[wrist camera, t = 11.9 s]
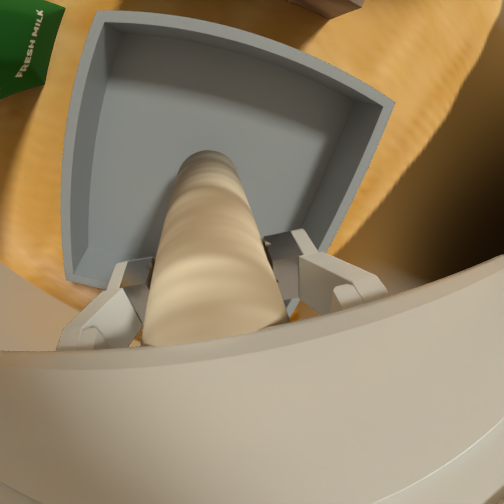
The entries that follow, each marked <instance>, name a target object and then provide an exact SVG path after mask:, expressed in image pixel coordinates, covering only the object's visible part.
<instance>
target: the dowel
mask: <svg viewBox="0 0 504 504" xmlns="http://www.w3.org/2000/svg"><path fill="white" fill-rule="evenodd" d="M289 322H290V319H289V316H288V313H287V310H286V307H285V304H284V302H283V299H282V296H281V293H280V290H279V287H278V284H277V282H276V279H275V276H274V273H273V270H272V267H271V264H270V262H269V259H268V256H267V253H266V250H265V248H264V245H263V242H262V239H261V236H260V234H259V231H258V228H257V225H256V222H255V220H254V217H253V214H252V211H251V209H250V206H249V203H248V200H247V198H246V195H245V192H244V189H243V187H242V184H241V181H240V178H239V176H238V173H237V170H236V168H235V166H234V164H233V162H232V161H231V160H230V159H229V158H228V157H227V156H226V155H224V154H222V153H220V152H217V151H212V150H204V151H199V152H196V153H194V154H192V155H190V156H189V157H188V158H187V159H186V160H185V161H184V162H183V163H182V165H181V166H180V168H179V171H178V174H177V177H176V181H175V184H174V188H173V191H172V195H171V199H170V202H169V206H168V210H167V213H166V217H165V221H164V225H163V229H162V234H161V238H160V242H159V246H158V251H157V255H156V260H155V265H154V270H153V274H152V280H151V285H150V290H149V296H148V301H147V307H146V313H145V319H144V326H143V333H142V340H141V346H149V345H154V346H156V347H159V346H167V345H175V344H183V343H191V342H198V341H204V340H211V339H217V338H223V337H229V336H235V335H241V334H246V333H251V332H256V331H257V330H259V329H261V328H265V327H270V326H275V325H280V324H285V323H289Z"/></svg>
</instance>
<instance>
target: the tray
mask: <svg viewBox="0 0 504 504" xmlns="http://www.w3.org/2000/svg"><path fill="white" fill-rule="evenodd" d="M394 105H395V102H394V101H393V100H391V99H390V98H388V97H387V96H385V95H384V94H382V93H381V92H379V91H377V90H376V89H374V88H373V87H371V86H369V85H368V84H366V83H364V82H362V81H361V80H359V79H357V78H355V77H354V76H352V75H350V74H348V73H346V72H344V71H343V70H341V69H339V68H337V67H335V66H333V65H331V64H329V63H327V62H325V61H323V60H320V59H318V58H316V57H314V56H312V55H309V54H307V53H305V52H302V51H300V50H298V49H295V48H293V47H290V46H288V45H285V44H283V43H280V42H277V41H274V40H272V39H269V38H266V37H263V36H260V35H257V34H254V33H251V32H247V31H244V30H240V29H237V28H233V27H229V26H226V25H222V24H217V23H213V22H209V21H204V20H199V19H194V18H188V17H182V16H176V15H168V14H160V13H150V12H138V11H97V12H96V15H95V17H94V20H93V23H92V25H91V28H90V31H89V33H88V36H87V39H86V42H85V45H84V49H83V52H82V55H81V59H80V62H79V66H78V70H77V73H76V77H75V82H74V86H73V91H72V95H71V100H70V106H69V111H68V117H67V124H66V131H65V139H64V148H63V159H62V174H61V233H62V248H63V260H64V269H65V277H66V280H67V281H71V282H75V283H79V284H84V285H88V286H92V287H97V288H102V289H106V290H107V287H108V284H109V281H110V278H111V276H112V273H113V270H114V268H115V265H116V264H117V263H119V262H124V261H130V260H135V259H141V258H146V257H152V256H154V257H155V258H156V255H157V251H158V246H159V242H160V238H161V234H162V229H163V225H164V221H165V217H166V213H167V210H168V206H169V202H170V199H171V195H172V191H173V188H174V184H175V181H176V177H177V174H178V171H179V168H180V166H181V165H182V163H183V162H184V161H185V160H186V159H187V158H188V157H189V156H190V155H192V154H194V153H196V152H199V151H204V150H212V151H217V152H220V153H222V154H224V155H226V156H227V157H228V158H229V159H230V160H231V161H232V162H233V164H234V166H235V168H236V170H237V173H238V176H239V178H240V181H241V184H242V187H243V189H244V192H245V195H246V198H247V200H248V203H249V206H250V209H251V211H252V214H253V217H254V220H255V222H256V225H257V228H258V231H259V234H260V236H261V239H262V237H263V236H268V235H273V234H278V233H283V232H288V231H293V230H297V229H304V230H305V232H306V233H307V235H308V236H309V238H310V240H311V241H312V243H313V244H314V246H315V247H316V249H317V251H318V252H324V253H326V252H327V250H328V248H329V246H330V245H331V243H332V241H333V239H334V237H335V235H336V233H337V231H338V229H339V227H340V225H341V223H342V221H343V219H344V217H345V215H346V213H347V211H348V209H349V207H350V205H351V203H352V201H353V199H354V197H355V195H356V193H357V191H358V188H359V186H360V184H361V182H362V180H363V178H364V176H365V173H366V171H367V169H368V167H369V165H370V162H371V160H372V158H373V156H374V153H375V151H376V149H377V146H378V144H379V142H380V139H381V137H382V135H383V132H384V130H385V127H386V125H387V123H388V120H389V118H390V115H391V113H392V110H393V107H394ZM262 242H263V239H262ZM299 301H300V299H299V298H293V299H288V300H283V302H284V304H285V307H286V310H287V313H288V316H289V317H290V316H291V314H292V313H293V311H294V309H295V308H296V306H297V304H298V302H299Z"/></svg>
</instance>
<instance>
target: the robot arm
mask: <svg viewBox="0 0 504 504" xmlns="http://www.w3.org/2000/svg"><path fill="white" fill-rule="evenodd" d="M262 239H263V245H264V248H265V250H266V253H267V256H268V259H269V262H270V264H271V267H272V270H273V273H274V276H275V279H276V282H277V284H278V287H279V290H280V293H281V296H282V299H283V300H288V299H293V298H299V299H300V300H302V301H303V302H304V303H306V304H307V305H308V306H310V307H311V308H312V309H314V310H315V311H317V312H318V313H319V314H320V316H316V317H311V318H307V319H303V320H298V321H294V322H289V323H285V324H280V325H275V326H270V327H265V328H261V329H259V330H257V331H256V332H251V333H246V334H241V335H235V336H229V337H223V338H217V339H211V340H204V341H198V342H191V343H183V344H175V345H167V346H159V347H156V346H154V345H149V346H139V347H129V345H130V344H131V342H132V341H133V339H134V338H135V336H136V335H137V333H138V332H139V330H140V329H141V327H142V326H143V325H142V324H144V319H145V313H146V307H147V301H148V296H149V290H150V285H151V280H152V274H153V270H154V265H155V260H156V258H155V257H154V256H152V257H146V258H141V259H135V260H130V261H124V262H119V263H117V264H116V265H115V268H114V270H113V273H112V276H111V278H110V281H109V284H108V287H107V290H105V291H102V292H101V293H100V294H99V295H98V296H97V297H96V298H95V299H94V300H93V301H92V302H90V303H89V304H88V305H87V306H86V307H85V308H84V309H83V310H82V311H81V312H80V313H79V314H78V315H77V316H76V317H75V318H74V319H73V320H72V321H71V322H70V323H69V324H68V325H67V326H66V327H65V328H64V329H63V331H62V333H61V336H60V339H59V342H58V345H57V348H56V351H55V352H54V351H53V352H24V351H0V504H504V255H500V256H497V257H495V258H493V259H491V260H488V261H486V262H484V263H481V264H479V265H476V266H474V267H471V268H469V269H466V270H464V271H461V272H459V273H456V274H454V275H451V276H448V277H445V278H443V279H440V280H437V281H434V282H431V283H428V284H426V285H423V286H420V287H417V288H414V289H411V290H408V291H404V292H401V293H399V294H395V295H392V296H391V295H390V294H389V292H388V291H387V289H386V288H385V287H384V285H383V284H382V282H380V280H379V278H378V277H377V276H376V275H374V274H372V273H369V272H367V271H365V270H363V269H361V268H358V267H356V266H354V265H352V264H349V263H347V262H345V261H342V260H340V259H338V258H336V257H334V256H331V255H329V254H327V253H324V252H318V251H317V249H316V247H315V246H314V244H313V243H312V241H311V240H310V238H309V236H308V235H307V233H306V232H305V230H304V229H297V230H293V231H288V232H283V233H278V234H273V235H268V236H263V237H262ZM128 347H129V348H128Z"/></svg>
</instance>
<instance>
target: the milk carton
mask: <svg viewBox="0 0 504 504" xmlns="http://www.w3.org/2000/svg"><path fill="white" fill-rule="evenodd" d="M64 11H65V8H64V7H62V6H59V5H56V4H54V3H51V2H48V1H45V0H0V99H2V98H4V97H7V96H9V95H12V94H15V93H17V92H20V91H23V90H26V89H30V88H33V87H36V86H40V85H43V84H45V79H46V74H47V69H48V65H49V60H50V56H51V52H52V48H53V45H54V41H55V38H56V34H57V31H58V28H59V25H60V22H61V19H62V16H63V13H64Z"/></svg>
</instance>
